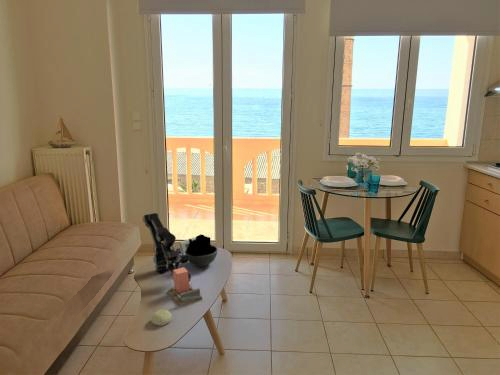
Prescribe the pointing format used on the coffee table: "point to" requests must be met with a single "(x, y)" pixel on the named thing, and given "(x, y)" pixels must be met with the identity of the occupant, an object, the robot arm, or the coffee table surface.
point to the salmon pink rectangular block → (181, 280)
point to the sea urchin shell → (161, 317)
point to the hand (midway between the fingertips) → (177, 276)
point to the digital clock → (185, 245)
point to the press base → (186, 295)
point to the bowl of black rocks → (201, 251)
